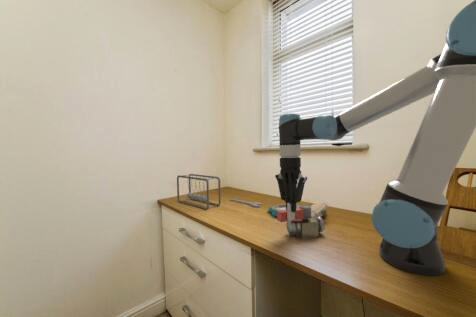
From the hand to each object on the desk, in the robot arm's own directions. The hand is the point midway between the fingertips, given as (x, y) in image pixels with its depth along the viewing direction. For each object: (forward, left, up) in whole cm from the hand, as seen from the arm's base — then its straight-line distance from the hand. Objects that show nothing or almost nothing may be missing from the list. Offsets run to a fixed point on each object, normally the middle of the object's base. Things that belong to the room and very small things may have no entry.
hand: (291, 219), depth 76 cm
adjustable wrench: (+54, +3, -8) cm, 55 cm away
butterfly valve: (+24, -15, -8) cm, 30 cm away
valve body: (+3, -8, -8) cm, 12 cm away
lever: (+3, -3, -1) cm, 4 cm away
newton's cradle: (+61, +32, -8) cm, 69 cm away
